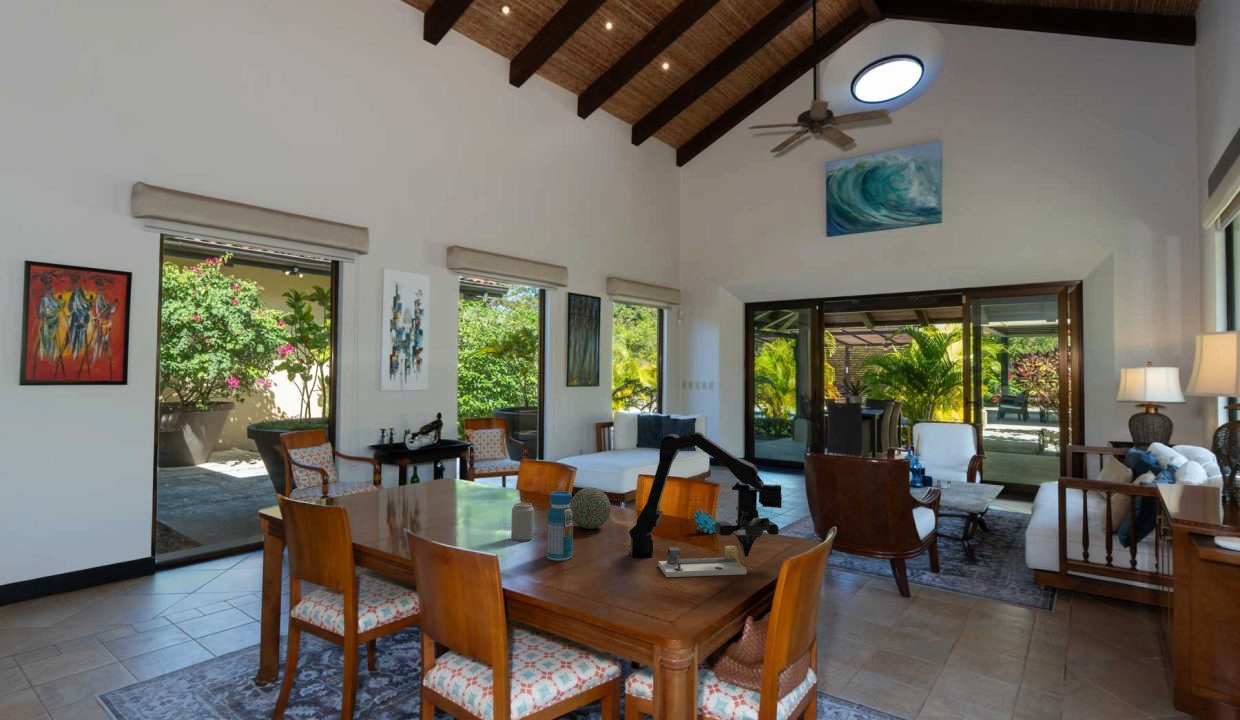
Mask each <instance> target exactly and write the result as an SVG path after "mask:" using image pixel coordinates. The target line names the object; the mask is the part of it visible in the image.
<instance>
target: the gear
mask: <svg viewBox="0 0 1240 720" xmlns="http://www.w3.org/2000/svg"><path fill="white" fill-rule="evenodd" d="M708 513H709V512H708V511H707V510H703V509H699V510H696V511H695V512H694V515H693V519H695V520H694V523H695V525H696V524H698V525H697V528H696V530H697V531H700V530H701V529H703V530H702V532H703V533H705V534H706V533H708V534H709V535H712V534H713V533H714V534H715V533H717V532H716V531H715V524H716V523H717V522H719V521H718V519H717V518H715V519H713V515H712V514H709V515H707V514H708Z"/></svg>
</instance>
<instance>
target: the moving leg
mask: <svg viewBox="0 0 1240 720" xmlns="http://www.w3.org/2000/svg"><path fill="white" fill-rule="evenodd" d="M738 551H739V549H738V546H735V545H725V546H724V556H725V557H727V558H728V559H733V560H734V561H735V562H736V563H737V566H740V564H741V563H740V561H741V560H740V559H739V558H738V557H739V552H738ZM737 558H738V559H737Z"/></svg>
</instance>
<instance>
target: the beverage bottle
mask: <svg viewBox="0 0 1240 720" xmlns="http://www.w3.org/2000/svg"><path fill="white" fill-rule="evenodd" d="M572 495H573V494H572V492H570V491H564V490H563V491H562V490H560V491H558V490H557V491H552V492H550V494H549V503H550V505H551V506H550V507H549V509H548V511H547V514H546V516H547V520H546V553H545V554H546V558H547V559H548V560H551V561H558V562H559V561H561V562H562V561H567V560H570V559H571V558H572V557H573V541H574V540H573V538H574V525H575V524H574V522H575V521H574V520H573V511H572V509H571V507H570V504H571V501H572V497H573V496H572Z"/></svg>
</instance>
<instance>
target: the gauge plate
mask: <svg viewBox="0 0 1240 720" xmlns="http://www.w3.org/2000/svg"><path fill="white" fill-rule="evenodd" d="M680 565H681V567H680V568H678V565H677V564H667V560H660V561H659V560H658V567H659V569H660V570H661V571H662V573H663V574H664V576H665V577H666V578H678V577H679V578H680V577H683V578H684V577H705V576H706V577H707V576H708V577H709V576H731V575H733V576H734V575H747V567H745V566H743V565H742V564H741V563H740V566H737V563H736V562H723V563H693V564H680Z"/></svg>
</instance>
